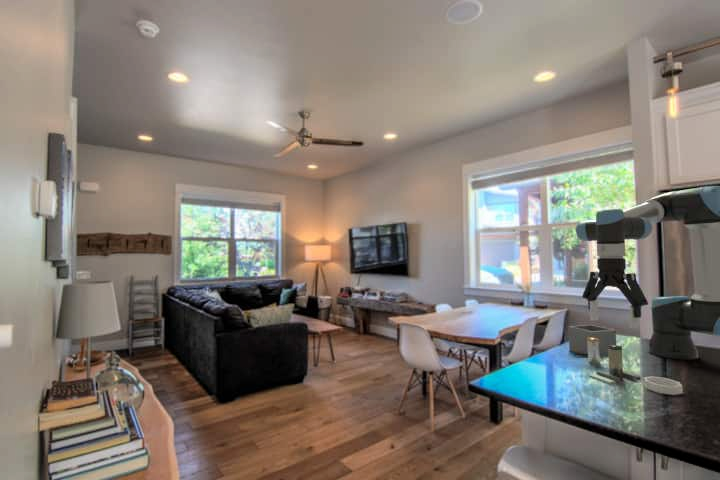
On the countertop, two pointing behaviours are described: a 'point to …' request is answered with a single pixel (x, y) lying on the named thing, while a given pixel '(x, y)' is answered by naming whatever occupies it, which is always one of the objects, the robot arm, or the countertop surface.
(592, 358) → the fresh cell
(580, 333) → the phone caddy
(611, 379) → the cradle
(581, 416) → the countertop surface
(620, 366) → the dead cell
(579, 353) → the smartphone
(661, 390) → the white octagonal bowl
